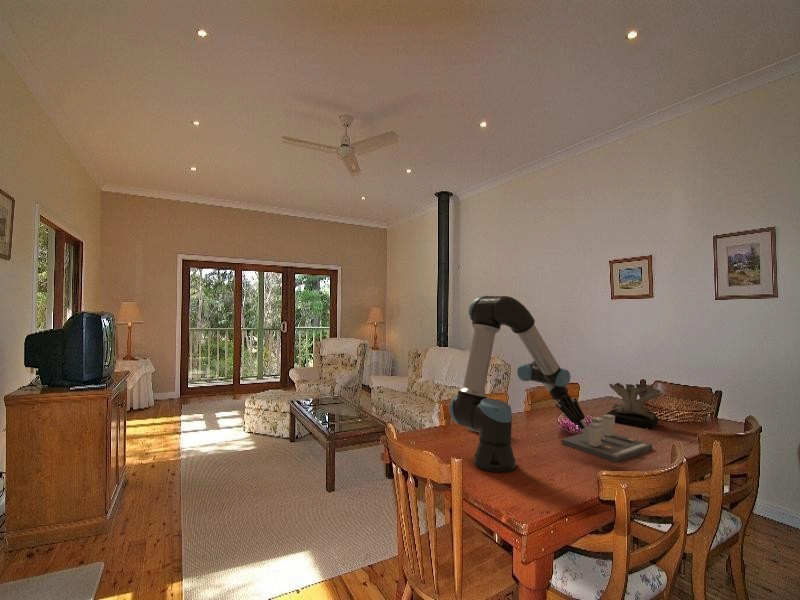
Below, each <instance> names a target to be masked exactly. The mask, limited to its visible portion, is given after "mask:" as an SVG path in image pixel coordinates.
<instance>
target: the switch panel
mask: <svg viewBox="0 0 800 600" xmlns="http://www.w3.org/2000/svg"><path fill="white" fill-rule="evenodd" d="M560 442H561V445H564V446H566V447H569V448H571V449H576V450H579V451H580V452H583V453H586V452H588V453H587V454H589V453H591V454H590V455H592V454H594V455H593V456H595V455H597V456H596V457H598V456H600V457H599V458H601V457H602V459H604V458H605V459H604V460H607V459H608V460H607V461H610V460H611V461H610V462H613V461H614V462H613V463H616V462H617V463H619V461H620V462H622V461H624V460H628V459H630V458H633V457H635V456H638V454H639V455H641V454H644V453H646V452H645V451H647V450H649V451H651V450H650V449H652V450H653V443H648V442H645V441H641V440H639V439H638V440H637V439H634V438H630V437H627V436H624V435H619V434H616V433H615V435H613V436H610V437H609V436H606V435H603V439H601V445H600V446H597V447H594V446H591V445H589V437H586V436H585V434H584V433H583V432H582V433H579V434H576V435H572V436H569V437H565V438H561V441H560ZM643 452H644V453H643ZM647 452H648V451H647ZM640 453H641V454H640Z"/></svg>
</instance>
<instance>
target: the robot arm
mask: <svg viewBox="0 0 800 600" xmlns="http://www.w3.org/2000/svg"><path fill="white" fill-rule="evenodd" d="M468 316H469V319H470V320H471V321H472V323H471V326H472V328H473V330H474V331H473V336H472V341H471V347H470V352H469V356H468V360H467V361H468V362H467V366H466V370H465V371H466V372H465V377H464V380H463V381H464V382H463V386H462V387H461V388H459V389H458V392H457V394H455V395H453V396H452V397H453V398H451V399H450V402H449V407H448V411H449V415H450V417H451V419H452V420H453V422H455V423H456V424H458V425H460V426H462V427H466V428H467V429H468V428H471V429H473V430H476V431H479V433H478V434H479V435H478V436H479V439H478V440H479V441H478V445H477V448H476V450H475V454H474V457H473V463H474V465H475V466H476V467H477V468H479V469H481V470H483V471H487V472H491V473H509V472H513V471H514V470H515V469H516V467H517V466H516V465H517V463H516V458H515V456H514V455H515V454H514V451H513V448H512V428H513V427H512V423H513V421H512V420H513V415H512V407H511V406H510V404H508V403H507V402H505V401H503V400H500V399H494V398H489V397H488V396H487V394H486V392H485V388H486V384H487V379H488V374H489V370H490V369H489V368H490V363H491V358H492V352H493V348H494V343H495V338H496V334H497V333H499V332H500V330H501V327H502V326H506V327H508V328H510V330H511V331H512V332H513V333H514V334H517V335H518V337H519V339H520V341H521V342H522V343H523V345H524V346H525V348H526V349H527V351H528V353H529V355H530V357H532V359H533V360H532V361H531V363H522V364H520V365H519V366H518V367H517V370H516V371H517V373H516V374H517V377H518V378H519V379H520V380H521V382H531V381H532V382H536V383H542V385H543V386H544V387H545V389H546V390H547V392H548V393H549V395H550V397H552V399H553V400H556V404H555V406H556V407H557V408H558V409H559V410H560V411H561V412H562V413H563V414H564V416H566V418H567V419H568V420H569V421H570V422H571V423H573V424H574V425H577V426H578V427H579V429H580V430H581V431H582V433H584V434H585V436H586V437H589V425H588V424H587V422H586V421H585V419H586V416H585V414H584V412H583V410H582V409H581V407H580V405H579V403H578V399H577V398H572V396H570V395H569V389H568V388H567V386H569V384H570V382H571V373H570V371H569V370H568V369H565V368H561V366H560V365H559V364H558V362H557V360H556V359H555V357H554V355H553V353H552V352H551V350H550V349H549V347H548V345H547V344H546V341H545V340H544V339H543V337H542V335H541V333H540V332H539V330H538V328H537V326H536V325H535V323H536V320H535V319H534V317H533V315H532V313H531V312H530V311H529V310H528V308H526V306H525V305H524V304H523V303H521V302H520V301H519V300H518V299H516V298H514V297H511V296H508V295H501V296H500V295H499V296H497V295H482V296H478V297H476V298H474V299H473V300H472V302H471V303H470V305H469V307H468Z"/></svg>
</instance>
